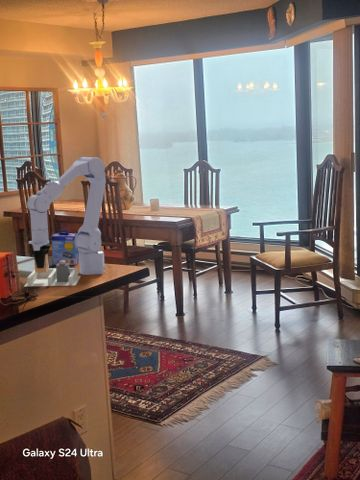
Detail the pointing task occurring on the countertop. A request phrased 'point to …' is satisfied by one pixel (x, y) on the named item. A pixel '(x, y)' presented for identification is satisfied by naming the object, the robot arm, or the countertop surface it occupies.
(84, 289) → the countertop surface
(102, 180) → the robot arm
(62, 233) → the ink cartridge box
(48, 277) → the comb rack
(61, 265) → the charcoal plug
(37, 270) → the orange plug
